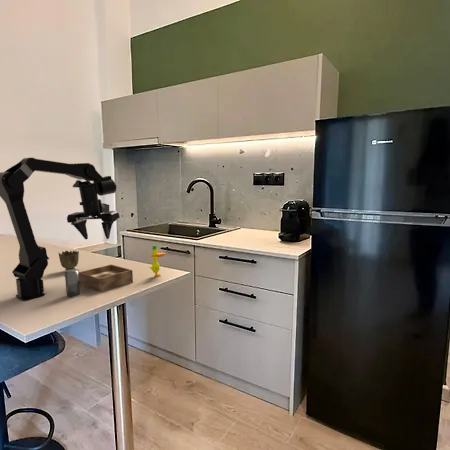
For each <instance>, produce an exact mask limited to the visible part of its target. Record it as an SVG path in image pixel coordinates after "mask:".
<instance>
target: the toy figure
mask: <svg viewBox="0 0 450 450" xmlns="http://www.w3.org/2000/svg"><path fill="white" fill-rule="evenodd" d="M151 247H152V248H151V249H152V250H151V252H152V254H151V255H150V257H151V258H152V262H153V263H152V264H151V265H150V266H148V267H149V269H150V270H151V271H152V272H153V273H154V278H158V276H159V277H161V274H160V273H159V272H160V268H161V267H160V263H158V260H159V259H158V258H162V257H165V256H166V255H167V254H166V253H165V252H159V251H158V247H157V245H152V246H151Z"/></svg>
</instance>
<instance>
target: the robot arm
mask: <svg viewBox="0 0 450 450" xmlns="http://www.w3.org/2000/svg"><path fill="white" fill-rule="evenodd" d="M34 172H39V173H41V172H42V173H49V174H58V175H66V176H68V177H70V178H73V179H77V180H75V183H73V185H72V188H78V190H79V195H80V200H81V202H80V201H79V206H82V211H81V212H78V211H77V212H76V211H75V212H73V213H70V214H67V217H66V220H67V223H68V224H69V223H70V226H71V225H72V226H73V227H74V228H75V229H76V230H77V232H79V234H81V236H82V237H83V238H84V240H88V239H89V237H88V236H89V235H88V230H87V226H86V225H87V220H101V221H102V222H101V227H102V229H103V233H104V236H105V239H106V240H109V239H110V236H111V230H112V227H113V224H114V222H116V221H117V220H118V219H120V218H121V217H120V213H119V212H118V211H117V210H110V204H107V203H102V200H101V199H100V198H99V196H100V197H102V196H105V195H106V196H107V195H111V194H115V193H116V191H117V184H116V182H115V181H114V179H113V178H112V176H111V175H107V176H106V175H105V176H102V175H101V174H100V173H99V172H98V171H97V169H96V167H95V165H94V164H92V163H90V162H87V163H86V162H84V163H67V162H60V161H54V160H45V159H39V158H36V157H24V158H22V159H21V160H19V162H17V163H15V164H14V165H12V166H10V167H9V168H8V169H6V170H5V171H2V172H1V171H0V198H1V199H2V200H3V201H4V203H5V205H6V208H7V212H8V215H9V217H10V221H11V224H12V226H13V231H14V233H15V236H16V239H17V242H18V244H19V250H18V260H19V262H18V264H17V265H16V266H15V267H14V269H13V270H12V274H13V276H14V278H15V281H16V283H15V284H16V291H17V292H16V294H15V297H16V298H18V300H19V299H20V300H21V301H23V302H24V301H28V300H32V299H35V298H40V297H42V296H45V295H46V293H45V288H44V287H45V286H44V280H43V279H42V278H43V277H44V273H45V270H46V269H47V267H48V265H49V260H50V257H49V256H48V253H47V249H46V247H44V246H41V245H39V244H38V243H37V241H36V238H35V235H34V232H33V228H32V224H31V222H30V218H29V215H28V211H27V209H26V206H25V202H24V195H25V185H24V183H25V182H26V181H27V180H28V179H29V178H30V177H31V176H32V174H33V173H34ZM82 180H84V181H82Z"/></svg>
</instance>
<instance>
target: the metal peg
mask: <svg viewBox="0 0 450 450" xmlns="http://www.w3.org/2000/svg"><path fill="white" fill-rule="evenodd" d="M79 272H80V271H79V269H76V268H75V269H71V270H66V271H65V270H64V278H65V279H64V280H65V290H66V294H65V295H66V297H68V298H75V297H78V296H80V295H81V287H80V286H81V285H80V284H79Z"/></svg>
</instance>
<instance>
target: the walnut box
mask: <svg viewBox="0 0 450 450" xmlns="http://www.w3.org/2000/svg"><path fill="white" fill-rule="evenodd" d="M131 283H132V284H133V283H134V277H133V269H130V268H127V267H126V268H125V267H122V266H120V265H119V266H118V265H115V264H108V265H102V266H100V267H99V266H98V267H96V268H95V267H94V268H90V269H87V270H82V271H79V284H80V286H81V287H84V288H88V289H89V290H93V291H95V292H98V293H102V292H105V291H108V290H111V289H115V288H118V287H122V286H126V285H129V284H131Z"/></svg>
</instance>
